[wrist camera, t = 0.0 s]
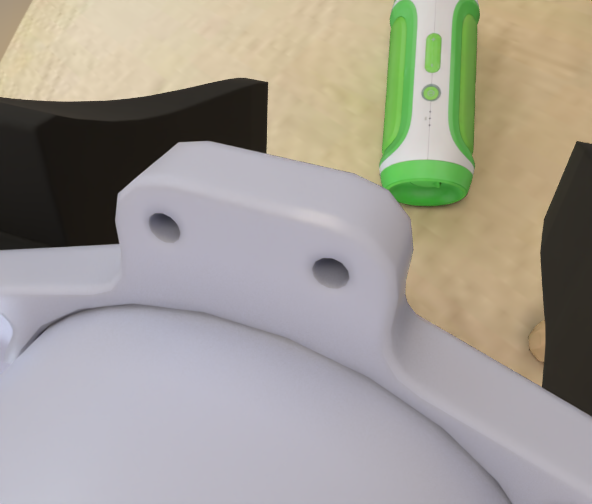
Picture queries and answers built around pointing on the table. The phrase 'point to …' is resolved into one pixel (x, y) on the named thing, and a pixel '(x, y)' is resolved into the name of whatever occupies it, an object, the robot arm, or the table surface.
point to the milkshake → (538, 341)
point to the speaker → (430, 101)
